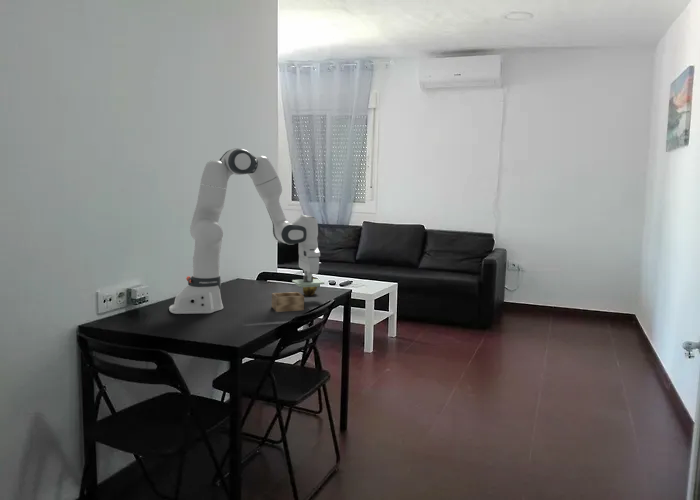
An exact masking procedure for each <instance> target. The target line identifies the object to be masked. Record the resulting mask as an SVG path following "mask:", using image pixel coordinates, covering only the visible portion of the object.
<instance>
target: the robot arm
mask: <svg viewBox="0 0 700 500" xmlns="http://www.w3.org/2000/svg"><path fill="white" fill-rule="evenodd" d="M232 175H235V176H238V175H239V176H240V175H248V176H249V177H250V179H251V180H252V183H253V186H254V187H255V189H256V191H257V193H258V195H259V197H260V198H261V200H262V201H263V204H264V205H265V207H266V210H267V213H268V215H269V218H270V220H271V223H272V234H273V238H274V239H275V240H276V241H278V242H279V243H283V244H287V245H295V244H298V267H299V268H300V269H301V270H303V276H307V281H311V277H312V276H313V275H317V274H318V273H319V269H320V257H321V252H320V249H319V244H318V243H319V242H318V236H319V224H318V219H317V218H316V217H314V216H311V215H305V214H301V215H300V216H299V217H298V218H296V219H294V220H292V221H289V220H288V219H287V218H286V216H285V214H284V211H283V209H282V208H283V207H281V203H280V197H281V194H282V193H283V187H282V183H281V180H280V177H279V174H278V173H277V171H276V168H275V167H274V165H273V163H272V162H271V161H270V160H269V158H268V157H267V156H264V155H258V156H257V155H256V156H255V155H253V154H252V153H251V152H249V151H248V150H247V149H244V148H232V149H229V150H227V151H226V152H224V154H222V156H221V157H220V158H219V159H218V160H217V159H213V160H210V161H207V162H206V164H205V166H204V169H203V170H202V174H201V178H200V184H199V190H198V196H197V200H196V201H197V202H196V205H195V209H194V212H193V215H192V220H191V223H190V227H189V232H190V237H192V238H193V240H194V250H193V256H192V276H186V278H185V279H186V281H187V286H185V287H184V288H183V289H181V291H179V292H178V293H177V294H176V296H175V299H174V303H173V304H171V305H170V306H169V307H168V309H169V312H170V313H172V314H173V315H174V314H176V315H177V314H178V315H181V314H184V315H188V314H212V313H214V312H218V311H221V310H223V309H224V305H223V301H222V295H221V287H222V286H221V285H222V282H221V281H222V279H221V275H220V257H221V255H220V254H221V249H222V241H223V240H222V239H223V235H224V232H223V228H222V227H221V225H220V223H219V219H220V217H221V214H222V211H223V209H224V206H225V202H226V196H227V195H226V194H227V189H228V181H229V180H230V178H231V176H232Z"/></svg>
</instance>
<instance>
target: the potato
mask: <svg viewBox="0 0 700 500" xmlns="http://www.w3.org/2000/svg"><path fill="white" fill-rule="evenodd" d="M313 279H316V278H315V277H313ZM317 287H318V286H317ZM317 287H302V293H303V295H304V296H306V297H307V296H308V297H312V296H313V295H315V292H316V291H317V289H318V288H317Z"/></svg>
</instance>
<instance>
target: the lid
mask: <svg viewBox="0 0 700 500" xmlns="http://www.w3.org/2000/svg"><path fill="white" fill-rule="evenodd" d="M313 278H314V275H312V277H311V281H307V276H305V275H303V279H292V280H291V281H292V283H293V284H294V285H296V286H297V287H299V288H303V287H321V285H325V281H322V280H321V279H319V278H315V279H313Z"/></svg>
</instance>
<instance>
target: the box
mask: <svg viewBox="0 0 700 500" xmlns="http://www.w3.org/2000/svg"><path fill="white" fill-rule="evenodd" d="M271 308H272V309H273V310H274V311H275V312H276V313H281V312H283V313H284V312H296V311H299V312H300V311H305V294H302V293H301V292H299V291H293V292H292V291H291V292H289V291H288V292H286V291H285V292H272V293H271Z"/></svg>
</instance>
